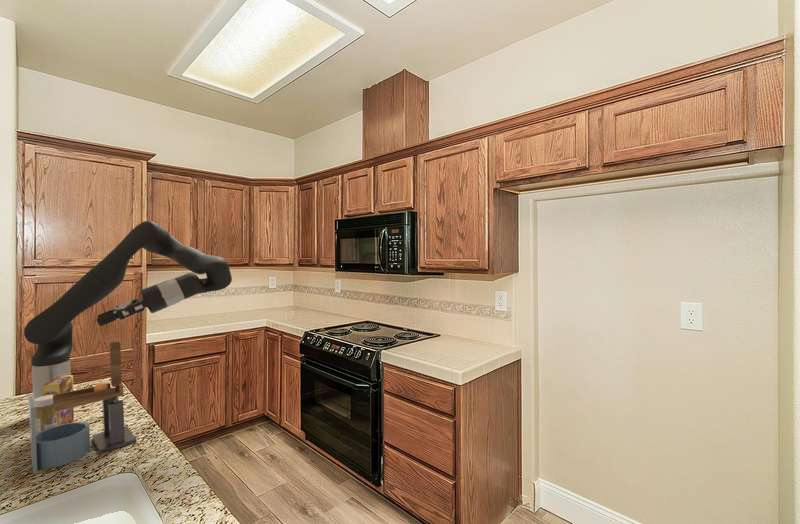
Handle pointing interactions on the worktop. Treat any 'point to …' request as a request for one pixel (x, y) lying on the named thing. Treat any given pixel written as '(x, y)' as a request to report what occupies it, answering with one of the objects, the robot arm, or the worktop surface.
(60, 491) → the worktop surface
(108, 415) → the lever stand
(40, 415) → the sprinkles bottle
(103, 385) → the ball
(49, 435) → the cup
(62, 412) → the candy box
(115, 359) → the lever
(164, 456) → the worktop surface
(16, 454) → the worktop surface
